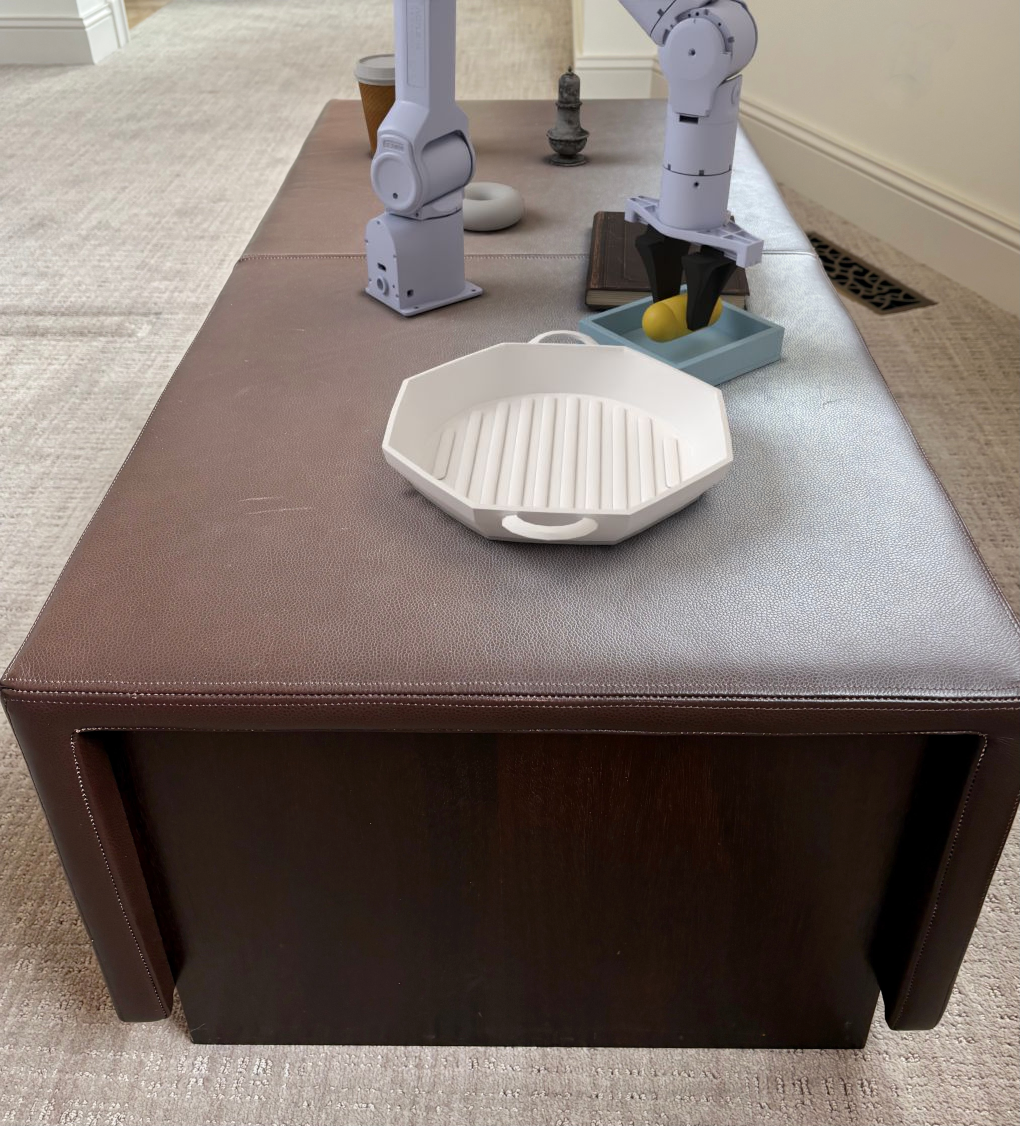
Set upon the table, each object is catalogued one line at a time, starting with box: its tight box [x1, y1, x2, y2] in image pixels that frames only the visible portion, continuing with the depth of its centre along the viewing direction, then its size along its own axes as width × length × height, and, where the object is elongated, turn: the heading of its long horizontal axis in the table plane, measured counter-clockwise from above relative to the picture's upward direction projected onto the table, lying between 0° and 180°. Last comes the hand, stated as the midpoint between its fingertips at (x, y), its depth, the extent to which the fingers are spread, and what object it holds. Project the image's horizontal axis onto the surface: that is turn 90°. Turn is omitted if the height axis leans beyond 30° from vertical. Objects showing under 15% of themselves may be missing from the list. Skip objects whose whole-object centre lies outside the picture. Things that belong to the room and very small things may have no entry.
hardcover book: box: [583, 210, 751, 312], centre depth 114 cm, size 16×23×2 cm
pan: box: [381, 329, 734, 546], centre depth 82 cm, size 31×26×4 cm
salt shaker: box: [545, 65, 591, 167], centre depth 142 cm, size 6×6×12 cm
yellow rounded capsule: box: [642, 292, 723, 343], centre depth 96 cm, size 9×4×4 cm, turn 127°
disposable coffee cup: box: [353, 53, 396, 157], centre depth 145 cm, size 10×10×12 cm
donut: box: [462, 181, 526, 232], centre depth 126 cm, size 10×4×10 cm
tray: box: [577, 284, 786, 387], centre depth 97 cm, size 14×13×3 cm
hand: (681, 319), depth 96 cm, fingers closed on yellow rounded capsule, 3 cm apart
